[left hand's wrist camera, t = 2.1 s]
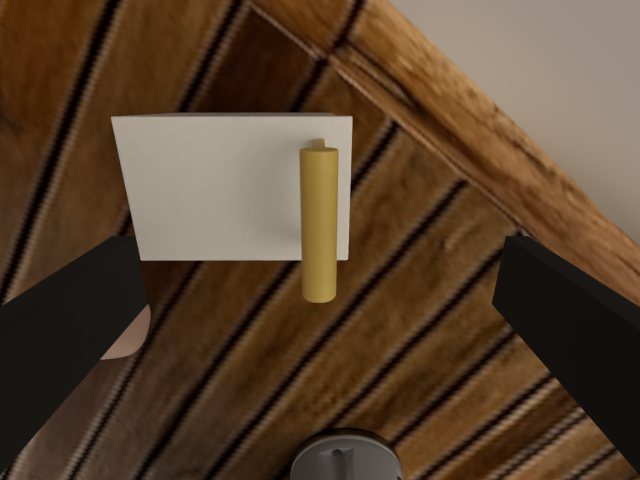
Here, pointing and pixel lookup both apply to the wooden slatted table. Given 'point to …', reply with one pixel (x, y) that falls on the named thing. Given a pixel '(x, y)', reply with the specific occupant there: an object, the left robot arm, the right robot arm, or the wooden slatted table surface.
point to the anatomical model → (131, 336)
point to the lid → (241, 190)
